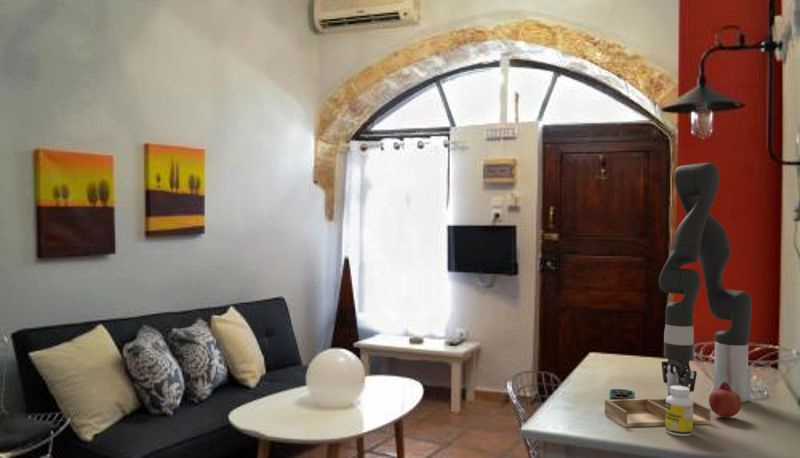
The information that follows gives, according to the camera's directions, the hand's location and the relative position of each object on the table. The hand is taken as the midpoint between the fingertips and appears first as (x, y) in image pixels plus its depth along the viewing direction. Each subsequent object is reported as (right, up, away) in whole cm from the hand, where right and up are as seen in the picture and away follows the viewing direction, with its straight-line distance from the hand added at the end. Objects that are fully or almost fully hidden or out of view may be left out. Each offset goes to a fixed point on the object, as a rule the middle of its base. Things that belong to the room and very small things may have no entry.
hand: (677, 403), depth 185 cm
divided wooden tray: (-6, -4, 0) cm, 7 cm away
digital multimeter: (-10, -5, +16) cm, 19 cm away
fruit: (+13, -5, +1) cm, 14 cm away
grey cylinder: (0, -2, 0) cm, 2 cm away
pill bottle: (-5, -5, -12) cm, 14 cm away
